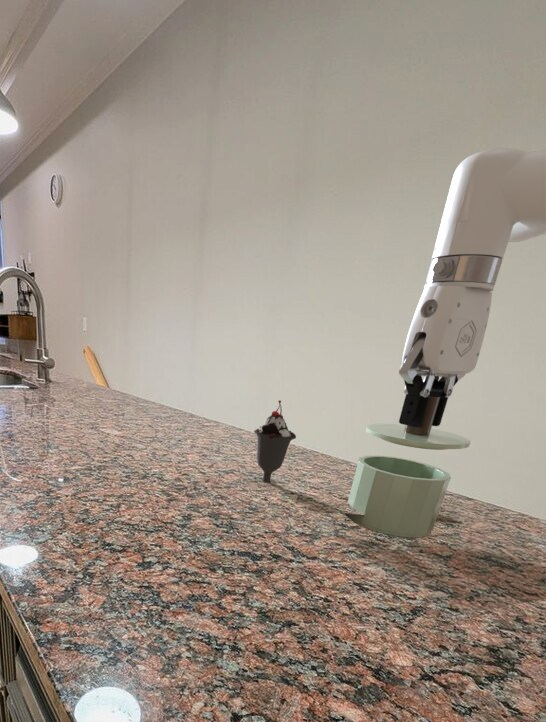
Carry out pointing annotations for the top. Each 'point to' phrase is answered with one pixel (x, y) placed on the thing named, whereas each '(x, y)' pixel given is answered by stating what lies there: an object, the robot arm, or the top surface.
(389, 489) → the canister
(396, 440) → the lid
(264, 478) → the sundae
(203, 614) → the top surface
